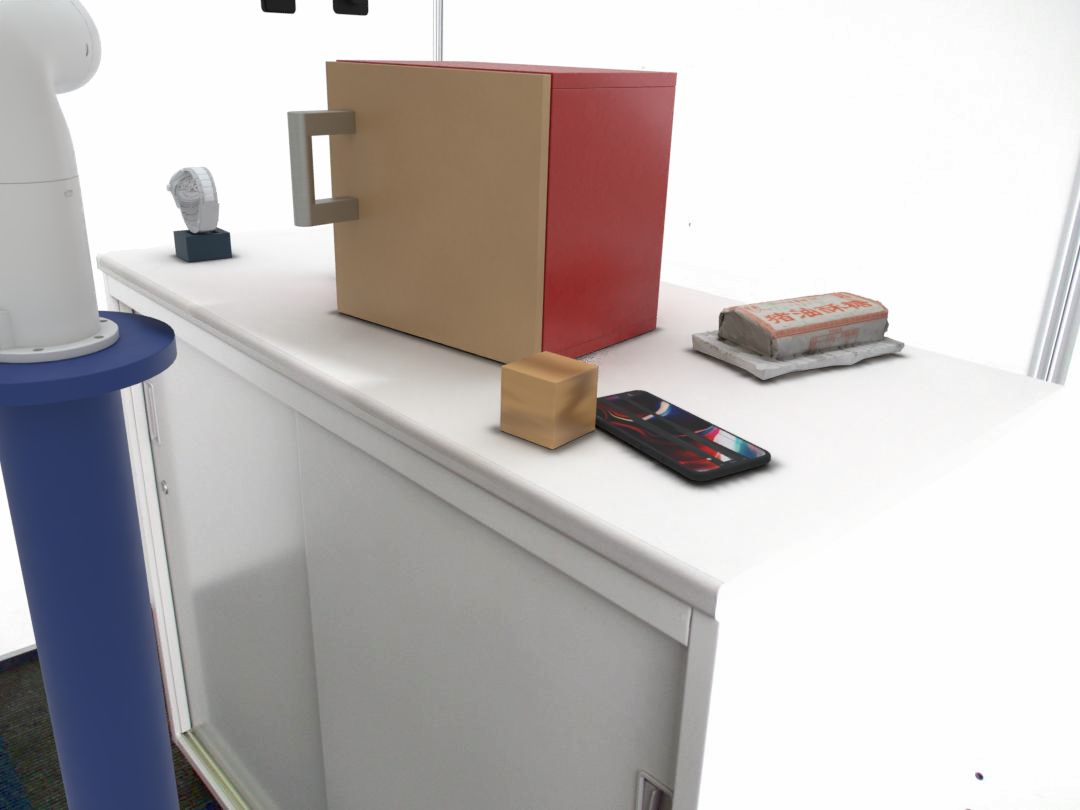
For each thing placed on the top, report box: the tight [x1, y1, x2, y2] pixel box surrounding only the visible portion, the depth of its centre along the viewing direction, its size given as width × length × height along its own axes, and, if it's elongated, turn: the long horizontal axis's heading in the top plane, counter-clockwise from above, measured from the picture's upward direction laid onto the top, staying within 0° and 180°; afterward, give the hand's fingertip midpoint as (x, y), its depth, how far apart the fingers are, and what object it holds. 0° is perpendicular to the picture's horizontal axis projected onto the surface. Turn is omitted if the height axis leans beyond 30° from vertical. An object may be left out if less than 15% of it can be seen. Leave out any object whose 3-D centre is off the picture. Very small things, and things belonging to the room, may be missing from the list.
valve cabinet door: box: [286, 60, 551, 365], centre depth 81 cm, size 8×26×24 cm, turn 50°
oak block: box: [499, 351, 600, 450], centre depth 67 cm, size 5×5×5 cm
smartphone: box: [595, 389, 772, 482], centre depth 67 cm, size 7×1×15 cm
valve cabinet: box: [335, 59, 678, 359], centre depth 90 cm, size 18×26×24 cm
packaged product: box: [691, 291, 906, 381], centre depth 87 cm, size 18×5×10 cm
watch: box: [166, 166, 233, 263], centre depth 115 cm, size 6×8×11 cm
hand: (313, 13), depth 78 cm, fingers open, 9 cm apart
